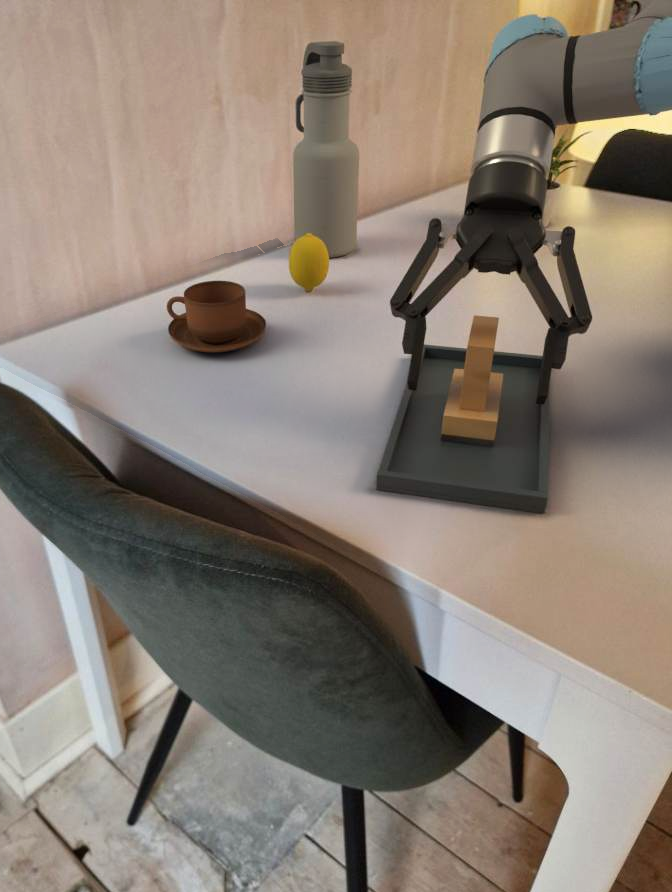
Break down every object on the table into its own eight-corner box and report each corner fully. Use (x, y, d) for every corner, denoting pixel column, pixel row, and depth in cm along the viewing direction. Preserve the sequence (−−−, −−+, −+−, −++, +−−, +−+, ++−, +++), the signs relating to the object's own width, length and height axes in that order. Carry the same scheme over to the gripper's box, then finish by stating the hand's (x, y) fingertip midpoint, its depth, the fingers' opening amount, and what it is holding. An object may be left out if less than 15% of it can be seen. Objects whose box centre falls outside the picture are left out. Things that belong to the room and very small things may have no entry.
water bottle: (285, 242, 124) (281, 41, 107) (341, 235, 126) (345, 36, 109) (306, 262, 116) (304, 48, 99) (365, 254, 118) (374, 44, 101)
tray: (418, 357, 90) (419, 343, 89) (547, 370, 86) (550, 356, 85) (375, 489, 68) (376, 474, 67) (544, 513, 65) (547, 497, 64)
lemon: (299, 281, 110) (298, 225, 105) (334, 287, 108) (335, 229, 103) (282, 295, 106) (281, 236, 101) (318, 301, 104) (319, 242, 99)
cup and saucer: (171, 365, 89) (165, 315, 85) (168, 324, 99) (162, 277, 95) (273, 356, 90) (271, 306, 87) (260, 316, 100) (258, 270, 96)
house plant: (464, 222, 130) (477, 116, 120) (511, 205, 137) (527, 104, 127) (537, 241, 121) (557, 129, 111) (583, 222, 129) (606, 115, 119)
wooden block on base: (451, 392, 81) (461, 307, 76) (499, 398, 80) (513, 312, 75) (440, 441, 74) (451, 350, 68) (493, 447, 73) (508, 356, 67)
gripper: (628, 206, 76) (599, 418, 73) (391, 194, 81) (357, 390, 79) (647, 162, 68) (616, 395, 66) (385, 151, 74) (347, 366, 71)
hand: (475, 393), depth 72 cm, fingers open, 11 cm apart
